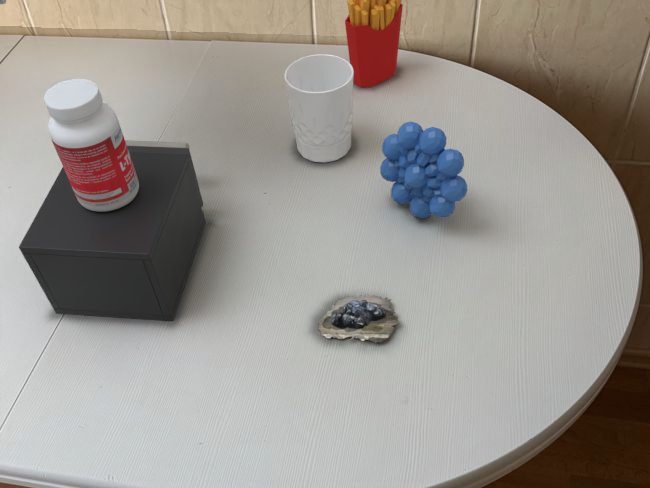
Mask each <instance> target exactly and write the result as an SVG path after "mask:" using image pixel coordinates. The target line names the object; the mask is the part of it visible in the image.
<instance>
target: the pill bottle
mask: <svg viewBox="0 0 650 488" xmlns="http://www.w3.org/2000/svg"><path fill="white" fill-rule="evenodd" d="M43 102H44V104H45V106H46V109H47V113H48V114H49V115H50V118H49V120H48V124H47V125H48V127H47V131H48V135H49V137H50V140H51V142H52V145H53V147H54V149H55V151H56V153H57V156H58V158H59V160H60V163H61V165H62V167H63V168H64V170H65V172H66V174H67V177H68V179H69V181H70V184H71V186H72V189H73V191H74V193H75V195H76V197H77V200H78V201H79V203H80V204H81V205H82V206H83V207H85V208H86V209H89V210H92V211H97V212H105V211H112V210H116V209H119V208H121V207H123V206H125V205H127V204H128V203H130V202H131V201H132V200H133V199H134V198H135V196H136V195H137V193H138V190H139V181H138V178H137V174H136V172H135V168H134V166H133V163H132V160H131V157H130V154H129V151H128V148H127V145H126V142H125V140H126V139H125V136H124V133H123V130H122V128H121V124H120V121H119V119H118V116H117V114H116V112H115V110H114V109H113V108H112V107H111V106H110V105H109V104H107V103H105V102H104V101H103V96H102V94H101V92H100V89H99V86H98V85H97V83H95V82H94V81H92V80H90V79H86V78H72V79H66V80H63V81H60V82H57V83H55V84H53V85H52V86H51V87H49V88H48V89H47V91H46V92H45V93H44V96H43Z"/></svg>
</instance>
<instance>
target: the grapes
mask: <svg viewBox="0 0 650 488" xmlns="http://www.w3.org/2000/svg"><path fill="white" fill-rule="evenodd" d="M446 146H447V135H446V133H445V131H443V130H442V129H441V128H438V127H434V126H431V127H427V128H425V129H423V127H422V126H421V125H420V124H419V123H418V122H414V121H407V122H404V123H402V124H401V125H400V126H399V128H398V130H397V132H396V133H392V134H388V135H387V136H386V138H384V139H383V142H382V145H381V152H382V154H383V156H384V157H385V158H384V159H383V160H382V161H381V164H380V168H379V169H380V171H379V172H380V176H381V178H382V179H383V180H385V181H386V182H390V183H393V184H392V186H391V189H390V197H391V198H392V200H393V201H394V202H396V203H397V204H399V205H406V204H409V211H410V213H411V214H412V215H413V216H414V217H416V218H419V219H425V218H429V217H430V216H431V215H433V216H435V217H436V218H440V219H443V218H448V217H450V216H451V215H452V214H453V213H454V211H455V209H456V203H457V202H461V200H463V199H464V198H465V197H466V195H467V192H468V184H467V181H466V180H465V178H464V177H463V176H461V175H459V174H461V172H462V171H463V169H464V167H465V158H464V156H463V153H462V152H460V151H459V150H457V149H454V148H447V149H446Z"/></svg>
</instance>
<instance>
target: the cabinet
mask: <svg viewBox="0 0 650 488" xmlns="http://www.w3.org/2000/svg"><path fill="white" fill-rule="evenodd" d="M129 154H130V157H131V160H132V163H133V166H134V168H135V172H136V174H137V178H138V181H139V190H138V193H137V195H136V196H135V198H134V199H133V200H132V201H131V202H130V203H128V204H127V205H125V206H123V207H121V208H119V209H116V210H112V211H105V212H97V211H92V210H89V209H86V208H85V207H83V206H82V205H81V204H80V203H79V201H78V200H77V197H76V195H75V193H74V191H73V189H72V186H71V184H70V181H69V179H68V177H67V174H66V172H65V170H64V168H63V166H62V167H61V169H60V171H59V172H58V175H57V176H56V177H55V180H54V182H53V184H52V186H51V187H50V189H49V191H48V193H47V195H46V196H45V198H44V200H43V202H42V204H41V206H40V207H39V210H38V211H37V214H36V215H35V216H34V218H33V220H32V222H31V224H30V226H29V227H28V229H27V231H26V233H25V234H24V236H23V238H22V240H21V242H20V243H19V246H18V249H19V250H20V252H21V254H22V256H23V257H24V260H25V261H26V263H27V265H28V267H29V268H30V270H31V272H32V274H33V275H34V277H35V280H37V282H38V284H39V286H40V288H41V289H42V291H43V293H44V295H45V296H46V298H47V300H48V302H49V303H50V306H51V308H52V309H53V310H54V312H55V314H59V315H60V314H61V315H74V316H75V315H76V316H91V317H104V318H106V317H108V318H119V319H120V318H121V319H136V320H151V321H152V320H153V321H165V322H166V321H167V322H174V319H175V316H176V313H177V310H178V307H179V305H180V301H181V297H182V295H183V293H184V289H185V287H186V283H187V280H188V277H189V274H190V271H191V268H192V265H193V263H194V260H195V256H196V253H197V250H198V247H199V244H200V241H201V238H202V235H203V232H204V229H205V226H206V223H207V222H206V219H205V214H204V210H203V206H201V203H200V199H199V195H198V191H197V187H196V183H195V179H194V176H193V172H192V168H191V164H190V160H189V156H188V154H182V153H156V152H130V151H129Z"/></svg>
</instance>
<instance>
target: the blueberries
mask: <svg viewBox="0 0 650 488" xmlns="http://www.w3.org/2000/svg"><path fill="white" fill-rule="evenodd" d="M391 301H392V298H389V297H387V296H386V297H384V298H383V297H381V296H377V295H374V294H373V295H372V294H371V295H370V294H367V295H362V294H361V295H358V296H357V295H352V296H347V297H345V298H344V297H343V298H342V299H338V300H337V301H336V303H335V304H332V305H331V308H330V309H329V310H327V311H326V313H324V315H323V316H322V317H320V318H319V320H318V322H317V328H318V329H317V330H318V332H320V335H321V336H323V337H325V338H326V339H329V340H330V339H331V338H333V339H335V338H336V339H338V340H344V339H346V338H350V339H349V340H350V341H351V340H353V339H354V338H355V339H359V340H360V341H362V342H364V341H367V340H368V341H370V342H373V343H375V344H377V343H383V342H385V341H387V340H389V337H390V336H392V335H393V332H394V330H395V327H394V326H396V325H398V323H399V322H400V321H399V319H398V316H395V314H396V313H397V311H395V309H394V308H393V309H392V308H391V307H390V306H391V305H392V302H391Z"/></svg>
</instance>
